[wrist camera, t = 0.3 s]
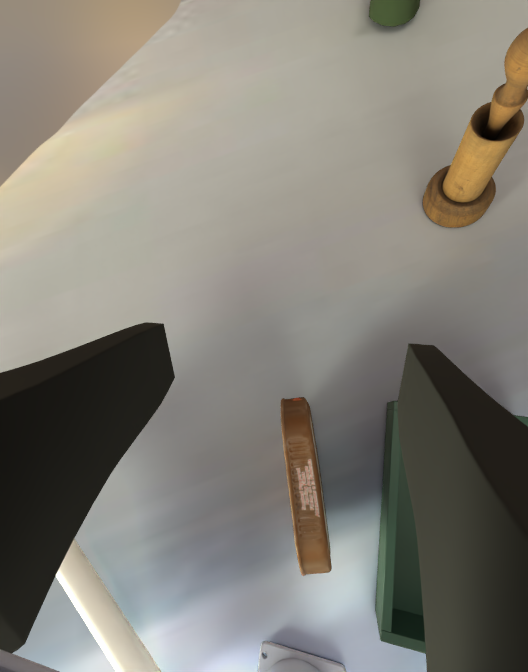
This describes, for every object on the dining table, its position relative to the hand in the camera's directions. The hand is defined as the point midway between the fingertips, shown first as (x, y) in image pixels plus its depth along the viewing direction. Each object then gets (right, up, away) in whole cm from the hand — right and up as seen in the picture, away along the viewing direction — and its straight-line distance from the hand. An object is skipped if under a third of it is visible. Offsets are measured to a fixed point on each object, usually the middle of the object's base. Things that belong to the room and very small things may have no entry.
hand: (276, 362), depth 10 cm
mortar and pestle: (+21, +16, +28) cm, 39 cm away
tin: (+5, -13, +26) cm, 29 cm away
